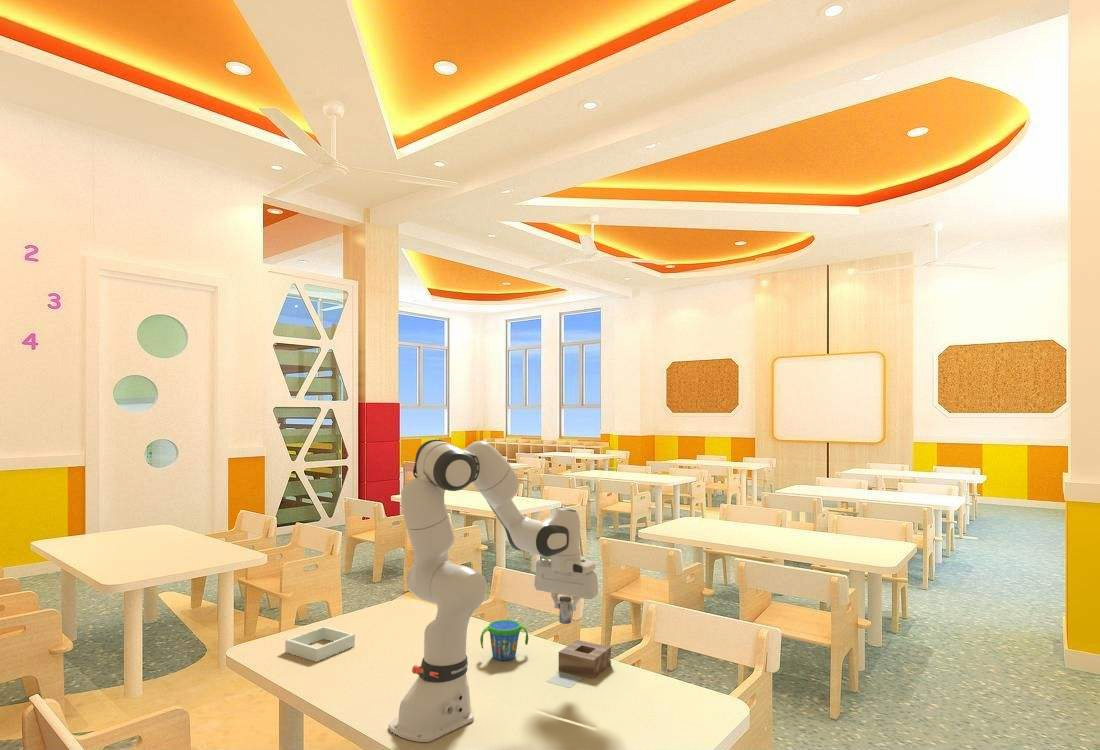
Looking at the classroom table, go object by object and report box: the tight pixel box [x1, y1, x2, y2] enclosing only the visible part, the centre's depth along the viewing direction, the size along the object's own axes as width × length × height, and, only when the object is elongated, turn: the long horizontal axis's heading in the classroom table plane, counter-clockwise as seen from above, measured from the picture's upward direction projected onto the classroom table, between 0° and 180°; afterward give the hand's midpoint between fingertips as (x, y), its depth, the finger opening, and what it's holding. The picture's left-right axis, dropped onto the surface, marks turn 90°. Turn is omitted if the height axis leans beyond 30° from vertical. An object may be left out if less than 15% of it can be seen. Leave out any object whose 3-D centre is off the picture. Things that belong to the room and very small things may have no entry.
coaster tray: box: [284, 625, 356, 663], centre depth 209 cm, size 16×16×4 cm
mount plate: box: [545, 671, 583, 689], centre depth 185 cm, size 8×8×1 cm
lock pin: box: [558, 595, 573, 625], centre depth 186 cm, size 4×4×7 cm
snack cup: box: [479, 619, 529, 661], centre depth 203 cm, size 16×10×10 cm
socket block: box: [558, 639, 612, 680], centre depth 194 cm, size 12×12×6 cm
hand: (565, 609), depth 186 cm, fingers closed on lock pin, 4 cm apart
